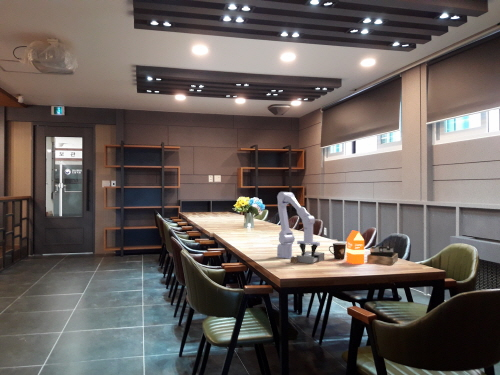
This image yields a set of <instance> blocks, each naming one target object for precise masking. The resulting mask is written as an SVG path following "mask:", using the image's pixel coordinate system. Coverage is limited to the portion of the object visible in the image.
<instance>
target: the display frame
mask: <svg viewBox="0 0 500 375" xmlns="http://www.w3.org/2000/svg"><path fill="white" fill-rule="evenodd" d="M393 255H394V256H393V257H382V256H371V255H370V253H369V254H367V256H366V257H367V258H366V261H367V263H370V264H377V265H378V264H380V265H387V264H388V265H389V266H393V265H394V264H395V263H397V262H398V260H399V253H398V252H397V253H396V252H393Z"/></svg>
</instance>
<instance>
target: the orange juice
mask: <svg viewBox="0 0 500 375" xmlns="http://www.w3.org/2000/svg"><path fill="white" fill-rule="evenodd" d="M347 262H348V263H350V264H352V265H360V264H361V265H362V264H365V239H364V237H363V236H362V234H361V233H360V231H357V230H354V229H353V230H351V232H350V233H349V235H348V237H347V238H346V263H347Z"/></svg>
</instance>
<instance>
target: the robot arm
mask: <svg viewBox="0 0 500 375" xmlns="http://www.w3.org/2000/svg"><path fill="white" fill-rule="evenodd" d="M276 198H277V208H278V210H277V212H278V216H279V223H280V229H281V231H280V232H279V233H278V242H279V243H278V244H277V247H276V248H277V249H276V250H277V252H276V254H277V256H276V258H280V259H289V260H290V259H291V257H295V256H293V244H294V243H295V235H294V233H293V231H292V230H291V229H290V223H289V216H288V212H287V211H288V210H287V206H288V204H290V205H292V207H293V208H295V210H296V214H297V215H298V216H299V218H300V219H301V223H302V224H303V225H302V226H303V240H297V241H296V243H297V245H298V246H299V248H300V250H301V253H302V254H303V256H304V254H305V252H306V246H310V247H311V252H312V257H314V253H315V252H316V251H317V248H318V247H319V246H320V245H321V244H320V243H321V242H320V241H319V242H318V241H314V224H315V222H316V218H315V216H314V215H311V214H310V213H309V212H308V211H307V210H306V207H304V206H301V205H300V203H299V202H298V200H297V199H296V197H295V194H294V193H293V192H291V191H289V192H288V191H280V192H278V194H277V196H276Z"/></svg>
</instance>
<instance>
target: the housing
mask: <svg viewBox="0 0 500 375" xmlns="http://www.w3.org/2000/svg"><path fill="white" fill-rule="evenodd" d="M305 254H312V251H309V250H307V251H306V250H305ZM300 256H303V254H302V252H301V255H300ZM314 257H318V261H315V262H317V263H320V262H321V261H324V260H325V252H320V251H315V253H314Z"/></svg>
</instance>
